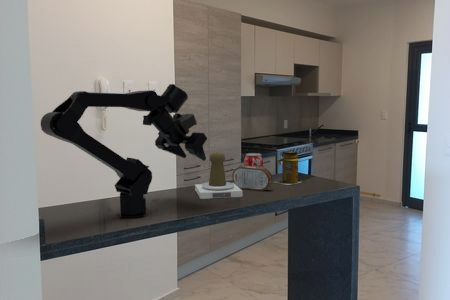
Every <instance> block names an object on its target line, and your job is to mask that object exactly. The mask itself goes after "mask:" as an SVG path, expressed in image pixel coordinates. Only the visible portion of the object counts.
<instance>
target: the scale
mask: <svg viewBox="0 0 450 300" xmlns="http://www.w3.org/2000/svg"><path fill="white" fill-rule="evenodd" d="M194 189H195V192H196V194H197V196H198V197H199V199H200V200H206V199H224V198H225V199H226V198H227V199H228V198H243V190H242V189H241V188H239V187H238V186H237V185H235V184H234V182H229V181H226V185H225V186H209V181H207V182H204V183H199V184H194Z"/></svg>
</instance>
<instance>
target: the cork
mask: <svg viewBox="0 0 450 300" xmlns="http://www.w3.org/2000/svg"><path fill="white" fill-rule="evenodd" d="M225 160H226V157H225V154H224V153H223V152H212V153H210V155H209V162H210V170H209V171H210V173H209V180H208V182H209V186H225V185H226V182H227V180H226V173H225V166H224V162H225Z"/></svg>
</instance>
